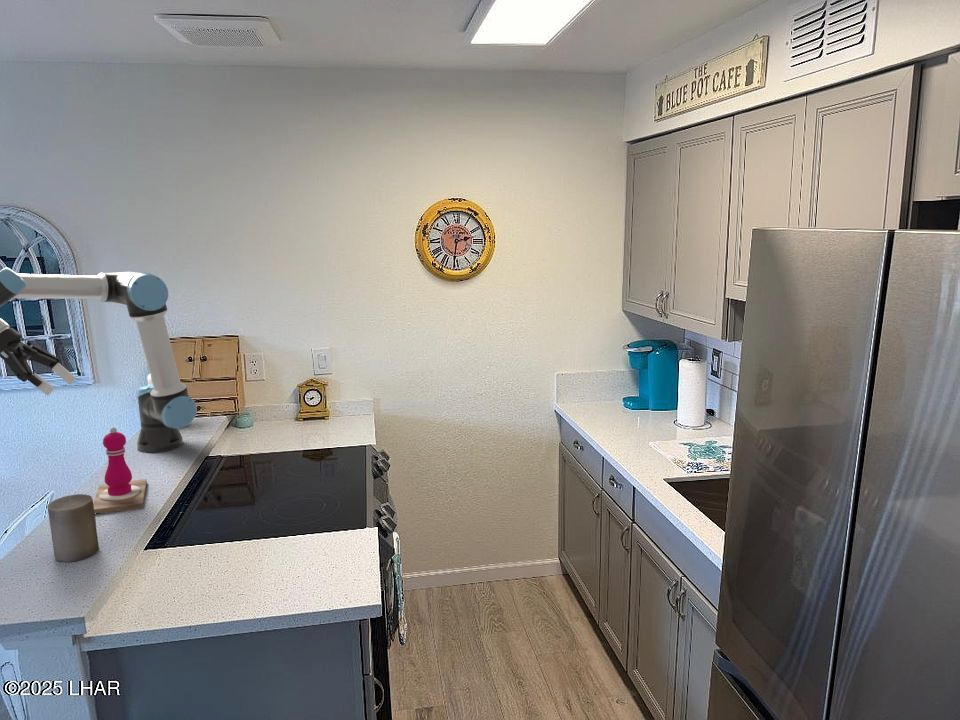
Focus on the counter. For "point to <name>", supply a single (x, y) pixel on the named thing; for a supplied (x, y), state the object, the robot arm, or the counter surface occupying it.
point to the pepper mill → (116, 464)
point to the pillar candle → (73, 527)
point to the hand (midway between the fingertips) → (62, 386)
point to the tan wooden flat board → (120, 498)
